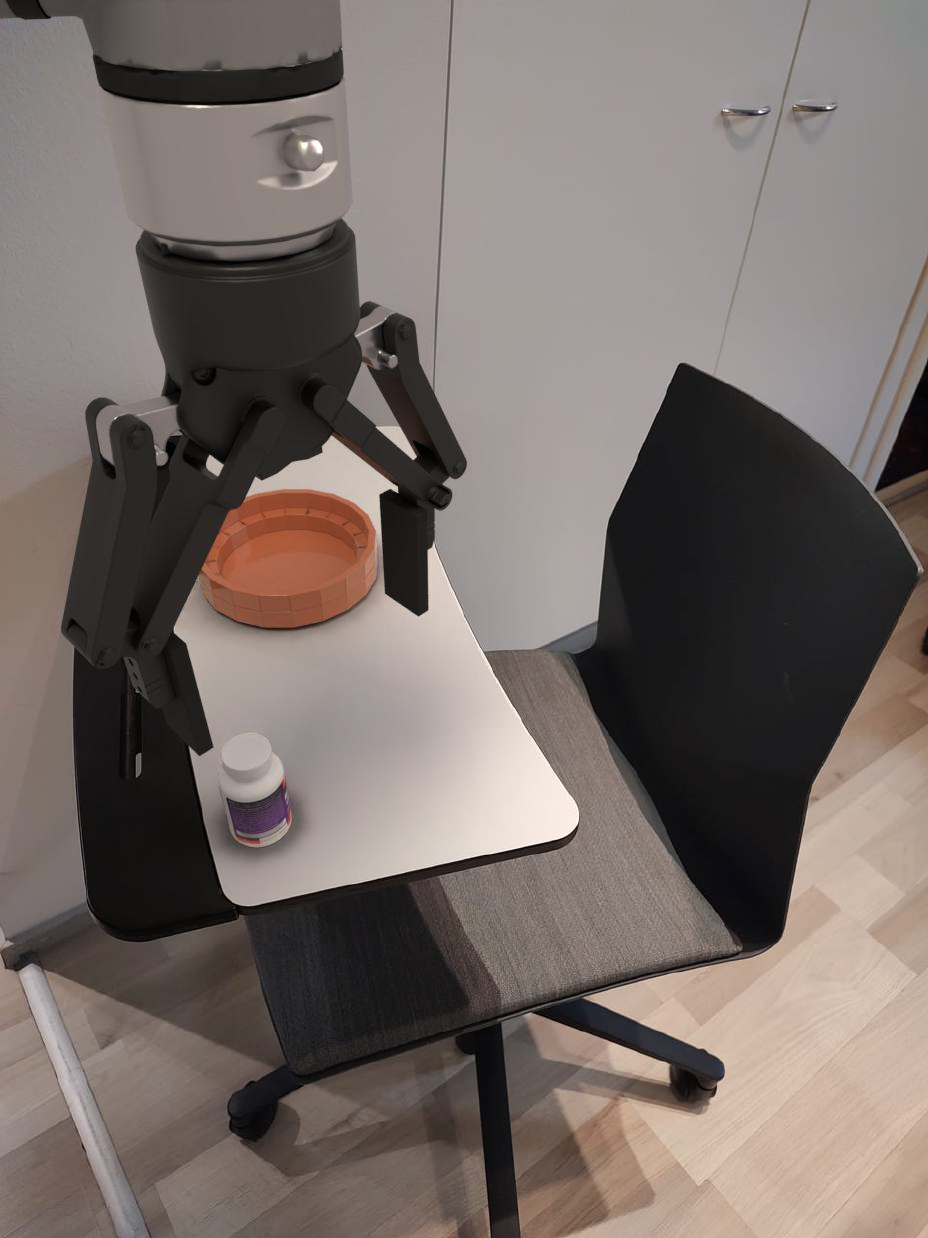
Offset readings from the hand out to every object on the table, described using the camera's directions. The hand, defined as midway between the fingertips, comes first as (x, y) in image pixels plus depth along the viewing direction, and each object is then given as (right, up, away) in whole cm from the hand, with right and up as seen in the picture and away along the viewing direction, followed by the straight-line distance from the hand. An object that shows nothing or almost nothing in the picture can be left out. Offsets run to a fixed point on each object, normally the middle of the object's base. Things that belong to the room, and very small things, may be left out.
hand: (307, 664), depth 44 cm
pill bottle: (-7, -13, +22) cm, 27 cm away
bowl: (-10, +7, +45) cm, 46 cm away
